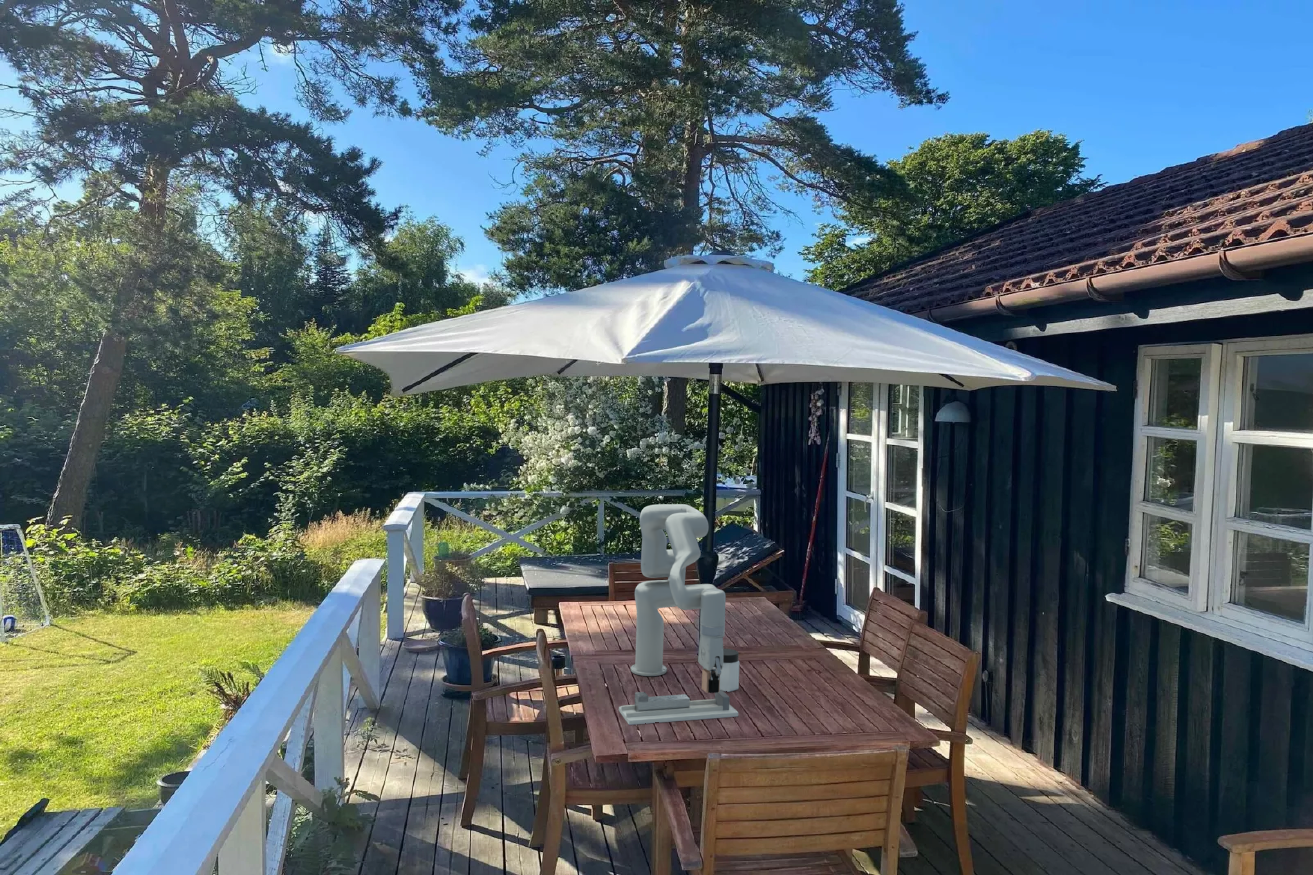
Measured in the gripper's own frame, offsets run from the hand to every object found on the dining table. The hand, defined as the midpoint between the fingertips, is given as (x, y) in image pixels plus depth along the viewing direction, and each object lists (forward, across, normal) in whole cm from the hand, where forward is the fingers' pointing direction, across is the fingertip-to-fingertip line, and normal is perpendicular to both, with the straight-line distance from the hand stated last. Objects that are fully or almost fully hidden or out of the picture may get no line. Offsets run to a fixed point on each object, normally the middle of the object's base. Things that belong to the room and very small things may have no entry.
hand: (710, 689), depth 262 cm
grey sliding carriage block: (+5, 0, -15) cm, 16 cm away
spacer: (0, 0, 0) cm, 0 cm away
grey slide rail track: (+7, 0, -10) cm, 12 cm away
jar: (+7, -20, +13) cm, 25 cm away
